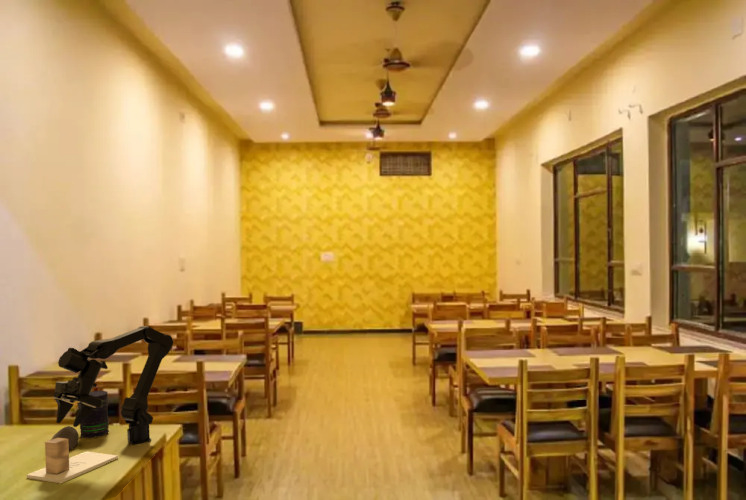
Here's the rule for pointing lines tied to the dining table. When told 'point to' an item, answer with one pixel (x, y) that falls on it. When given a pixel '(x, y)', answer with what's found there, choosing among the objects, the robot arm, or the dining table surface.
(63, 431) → the stone
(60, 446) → the block
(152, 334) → the robot arm
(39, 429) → the dining table surface
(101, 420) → the storage jar
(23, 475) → the dining table surface
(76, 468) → the board
